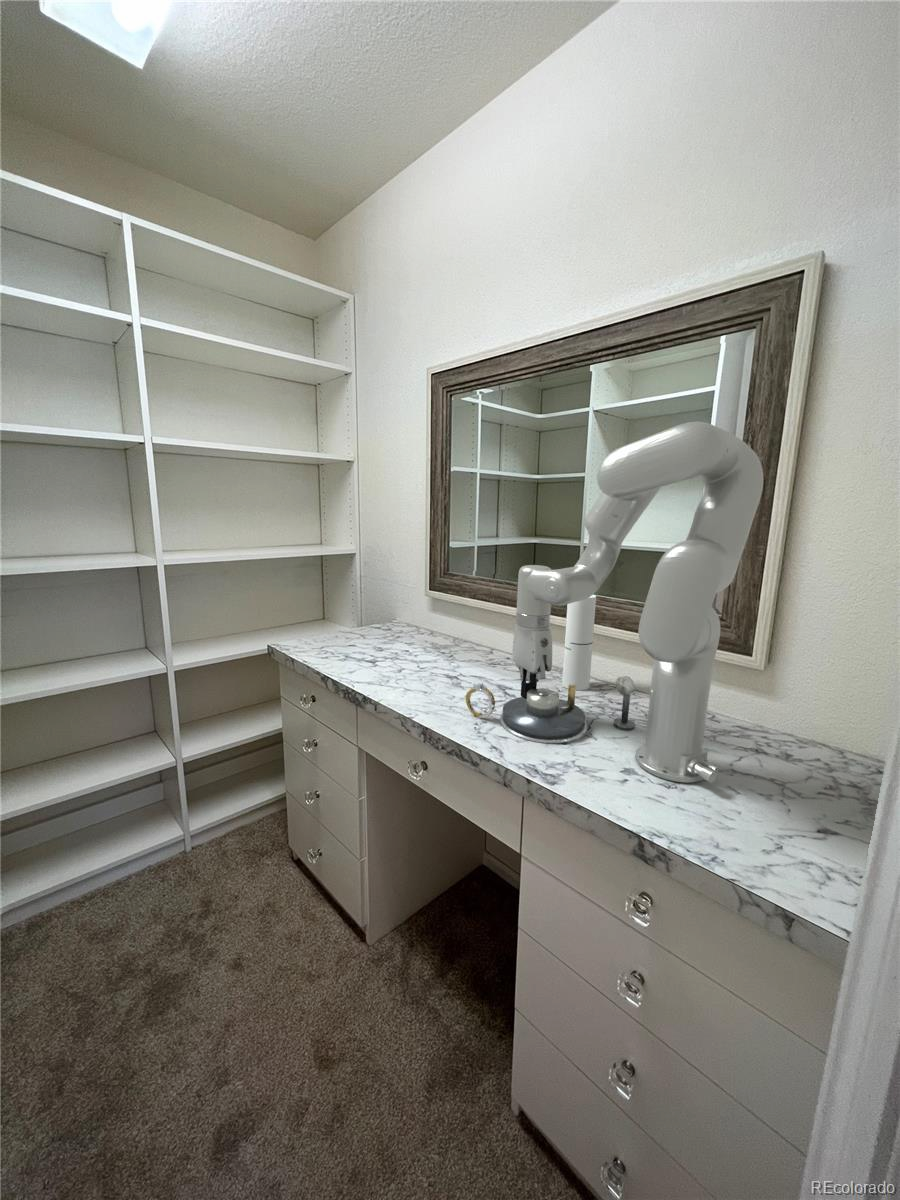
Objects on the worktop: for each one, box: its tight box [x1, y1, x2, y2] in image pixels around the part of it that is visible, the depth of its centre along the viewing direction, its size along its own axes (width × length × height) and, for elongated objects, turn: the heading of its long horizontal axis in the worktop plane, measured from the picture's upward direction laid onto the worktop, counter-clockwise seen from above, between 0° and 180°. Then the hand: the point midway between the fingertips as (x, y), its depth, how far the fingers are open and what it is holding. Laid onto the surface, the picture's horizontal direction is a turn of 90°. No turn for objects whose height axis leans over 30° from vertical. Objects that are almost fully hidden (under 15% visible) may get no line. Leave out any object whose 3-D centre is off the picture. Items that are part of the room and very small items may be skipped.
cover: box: [526, 687, 560, 718], centre depth 104 cm, size 7×7×4 cm
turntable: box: [502, 685, 586, 739], centre depth 104 cm, size 18×18×7 cm
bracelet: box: [465, 683, 496, 719], centre depth 106 cm, size 7×3×8 cm, turn 52°
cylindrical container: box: [561, 594, 597, 691], centre depth 126 cm, size 7×7×25 cm
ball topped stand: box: [613, 675, 636, 731], centre depth 103 cm, size 4×4×12 cm
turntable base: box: [499, 712, 588, 745], centre depth 105 cm, size 19×19×1 cm
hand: (528, 696), depth 109 cm, fingers closed
